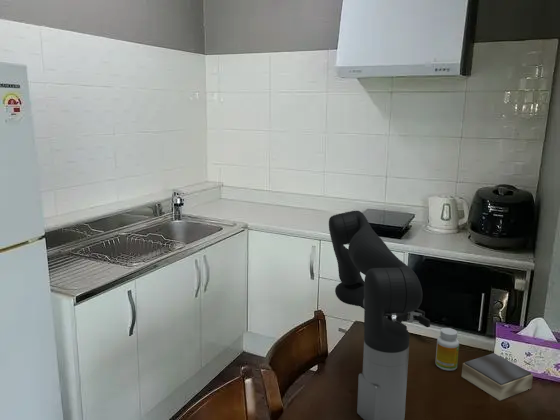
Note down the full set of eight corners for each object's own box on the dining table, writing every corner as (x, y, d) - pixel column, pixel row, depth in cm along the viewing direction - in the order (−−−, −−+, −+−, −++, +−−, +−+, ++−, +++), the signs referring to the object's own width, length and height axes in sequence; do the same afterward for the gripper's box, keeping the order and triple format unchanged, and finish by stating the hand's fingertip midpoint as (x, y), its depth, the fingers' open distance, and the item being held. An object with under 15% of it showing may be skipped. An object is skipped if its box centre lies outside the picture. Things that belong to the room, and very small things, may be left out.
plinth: (499, 400, 104) (501, 384, 103) (461, 376, 113) (462, 361, 113) (531, 388, 108) (533, 373, 108) (492, 366, 118) (493, 352, 117)
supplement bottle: (458, 372, 115) (462, 336, 113) (436, 370, 116) (439, 334, 114) (455, 361, 120) (458, 327, 119) (434, 359, 121) (436, 325, 120)
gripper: (362, 298, 137) (398, 319, 123) (399, 290, 143) (437, 309, 129) (361, 321, 139) (397, 344, 124) (398, 313, 145) (435, 334, 131)
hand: (417, 327), depth 127 cm, fingers open, 8 cm apart
